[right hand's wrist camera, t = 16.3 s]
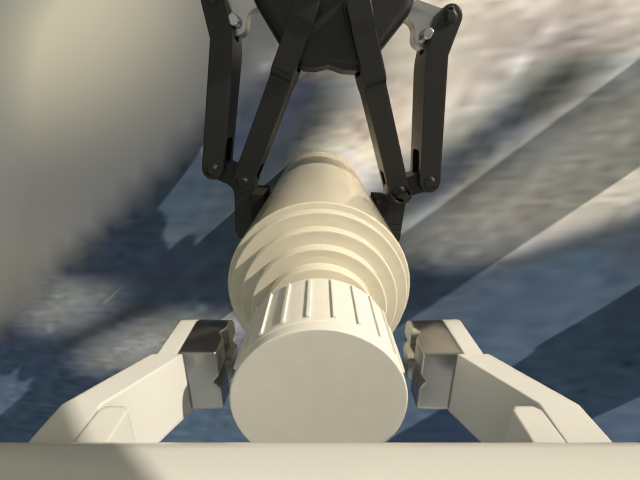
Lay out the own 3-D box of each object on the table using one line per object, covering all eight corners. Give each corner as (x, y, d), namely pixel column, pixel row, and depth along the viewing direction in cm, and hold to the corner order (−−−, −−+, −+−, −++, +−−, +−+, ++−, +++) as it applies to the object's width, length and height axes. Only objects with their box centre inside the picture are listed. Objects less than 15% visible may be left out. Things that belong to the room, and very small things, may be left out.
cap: (297, 248, 9) (290, 292, 7) (419, 324, 10) (449, 386, 8) (221, 354, 10) (194, 422, 8) (336, 414, 11) (340, 490, 9)
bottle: (307, 133, 27) (271, 196, 7) (376, 182, 29) (525, 361, 8) (262, 203, 29) (127, 419, 9) (329, 246, 31) (349, 520, 10)
